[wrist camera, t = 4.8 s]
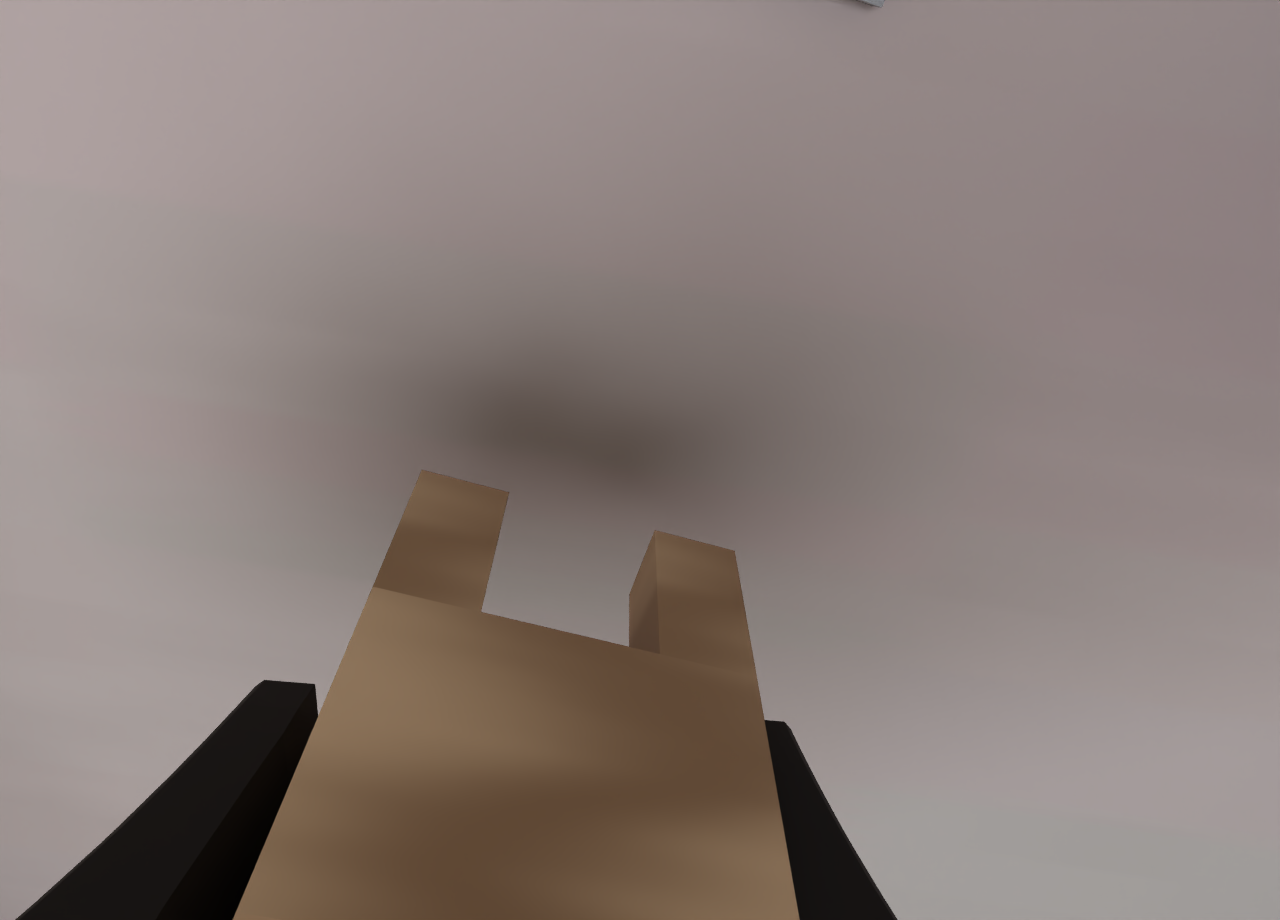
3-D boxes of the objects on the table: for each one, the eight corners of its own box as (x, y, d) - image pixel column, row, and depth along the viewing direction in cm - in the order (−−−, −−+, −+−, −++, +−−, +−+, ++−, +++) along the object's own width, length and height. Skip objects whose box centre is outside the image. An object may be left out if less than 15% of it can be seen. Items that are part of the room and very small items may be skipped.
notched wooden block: (735, 550, 12) (836, 1128, 6) (639, 758, 14) (644, 1339, 8) (421, 469, 11) (186, 1033, 5) (370, 701, 14) (159, 1291, 8)
